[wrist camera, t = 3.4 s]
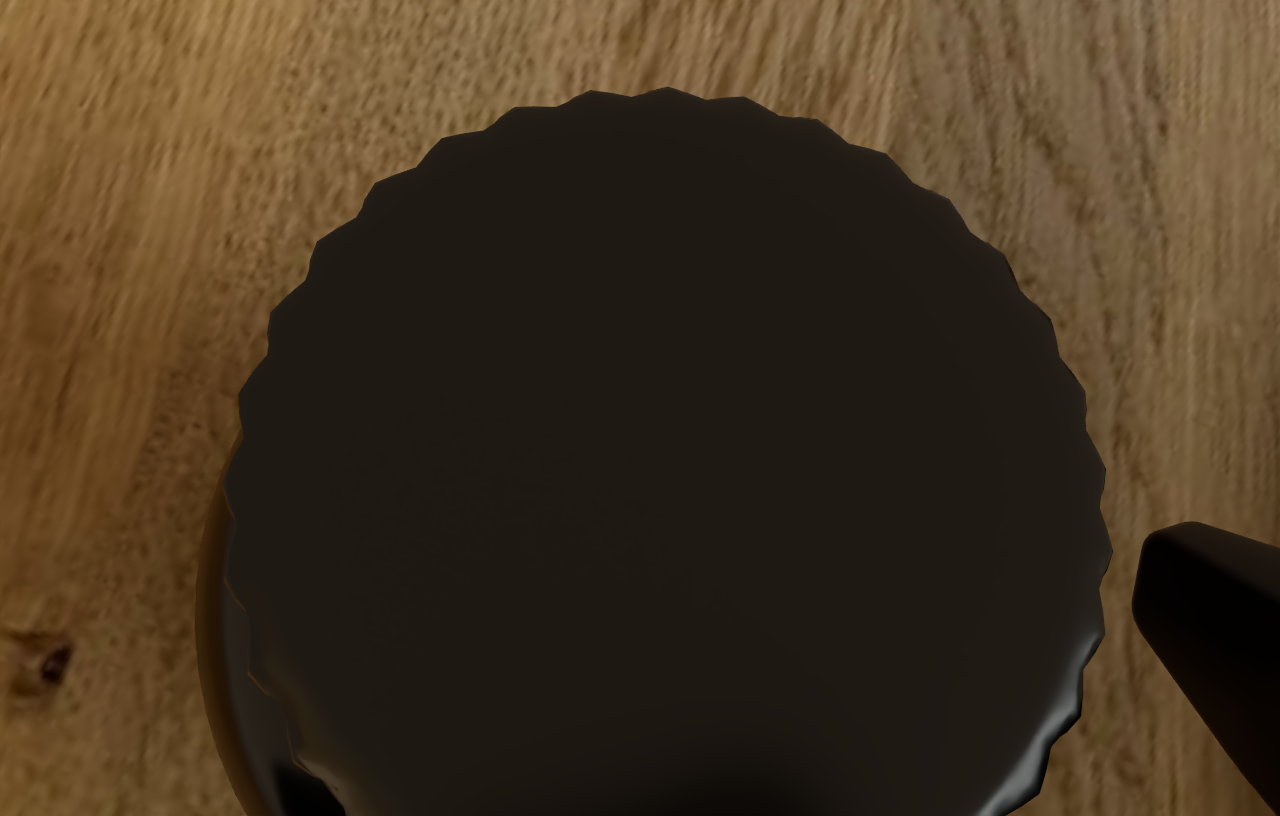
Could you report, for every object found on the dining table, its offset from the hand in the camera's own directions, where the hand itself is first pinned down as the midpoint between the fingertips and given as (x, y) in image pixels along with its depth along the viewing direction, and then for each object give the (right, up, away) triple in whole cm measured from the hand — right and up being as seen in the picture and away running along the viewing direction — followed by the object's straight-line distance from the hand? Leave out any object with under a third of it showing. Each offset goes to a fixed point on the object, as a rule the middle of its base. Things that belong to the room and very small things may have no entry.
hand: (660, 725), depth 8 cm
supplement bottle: (-2, -1, +9) cm, 9 cm away
